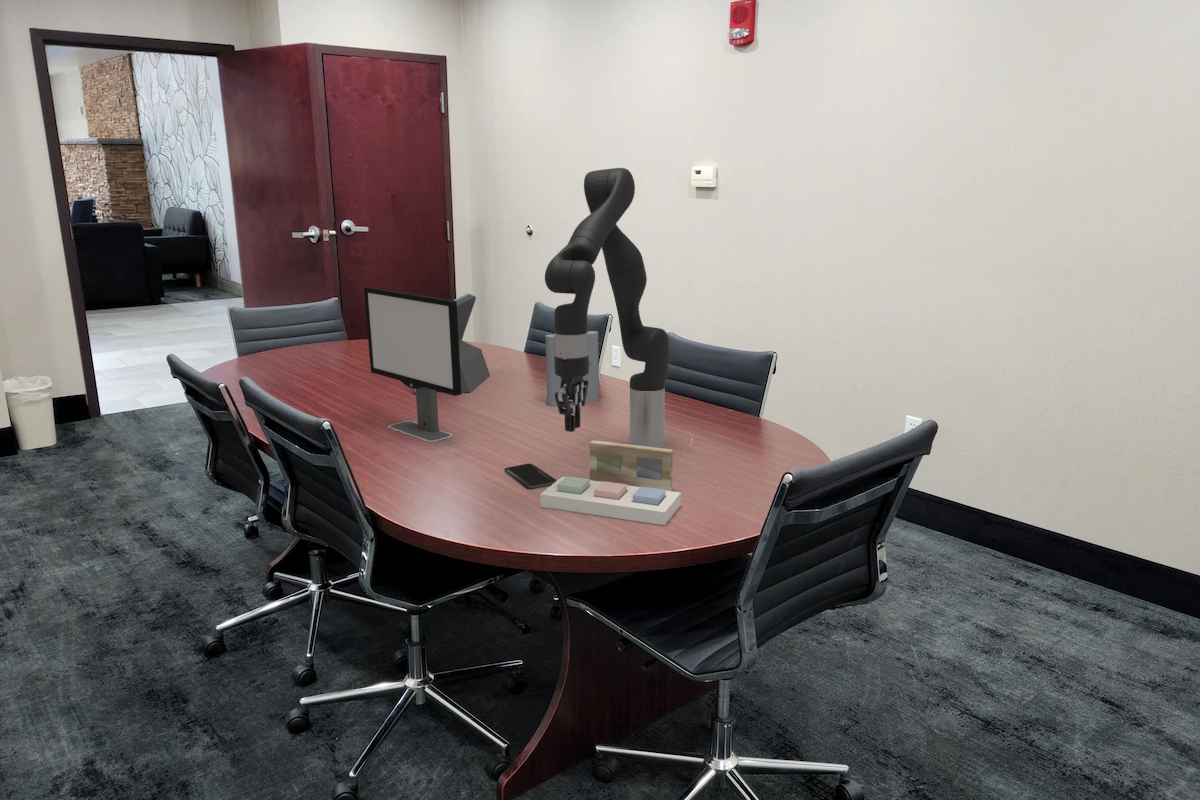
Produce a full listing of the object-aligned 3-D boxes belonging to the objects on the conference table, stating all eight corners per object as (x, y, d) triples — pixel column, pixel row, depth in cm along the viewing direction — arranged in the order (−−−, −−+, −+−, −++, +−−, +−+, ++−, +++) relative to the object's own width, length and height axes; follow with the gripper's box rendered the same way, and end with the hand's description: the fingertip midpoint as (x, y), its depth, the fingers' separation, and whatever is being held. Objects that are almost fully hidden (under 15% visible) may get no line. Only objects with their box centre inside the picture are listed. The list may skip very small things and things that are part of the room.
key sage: (567, 487, 196) (567, 476, 195) (589, 490, 194) (589, 479, 193) (557, 495, 191) (557, 484, 190) (580, 499, 189) (580, 487, 188)
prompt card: (593, 479, 206) (592, 440, 203) (672, 490, 198) (672, 449, 196) (589, 482, 204) (588, 443, 201) (669, 493, 196) (669, 452, 194)
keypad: (562, 488, 200) (562, 476, 199) (680, 505, 190) (681, 492, 189) (540, 506, 189) (540, 494, 189) (664, 525, 179) (664, 512, 178)
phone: (528, 487, 199) (502, 468, 212) (528, 491, 199) (503, 472, 212) (558, 480, 203) (531, 462, 215) (558, 485, 203) (531, 466, 216)
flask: (550, 407, 267) (548, 329, 261) (545, 403, 272) (543, 327, 265) (601, 401, 274) (600, 325, 267) (596, 398, 278) (595, 322, 271)
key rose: (603, 492, 193) (603, 481, 192) (626, 495, 191) (626, 484, 190) (594, 501, 188) (594, 489, 187) (618, 504, 186) (618, 493, 185)
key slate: (641, 497, 189) (641, 486, 189) (665, 501, 187) (665, 489, 187) (632, 506, 184) (632, 495, 184) (657, 510, 182) (657, 498, 182)
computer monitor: (368, 421, 254) (357, 288, 243) (392, 415, 260) (382, 285, 249) (452, 450, 227) (444, 302, 217) (477, 443, 233) (470, 298, 222)
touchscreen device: (443, 370, 317) (441, 290, 309) (494, 374, 314) (493, 293, 306) (409, 395, 283) (406, 306, 275) (465, 399, 281) (464, 309, 273)
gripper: (568, 345, 191) (569, 419, 196) (541, 358, 179) (544, 436, 183) (599, 348, 189) (599, 422, 193) (574, 361, 176) (575, 440, 181)
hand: (572, 428), depth 188 cm, fingers closed
